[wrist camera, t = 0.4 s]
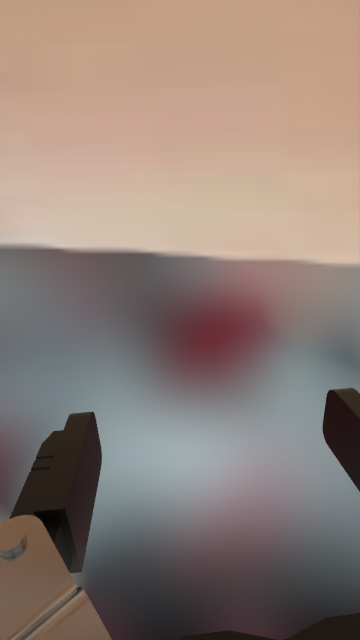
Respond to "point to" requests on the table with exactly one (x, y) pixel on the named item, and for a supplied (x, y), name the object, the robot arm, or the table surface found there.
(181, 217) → the table surface
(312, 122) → the table surface
